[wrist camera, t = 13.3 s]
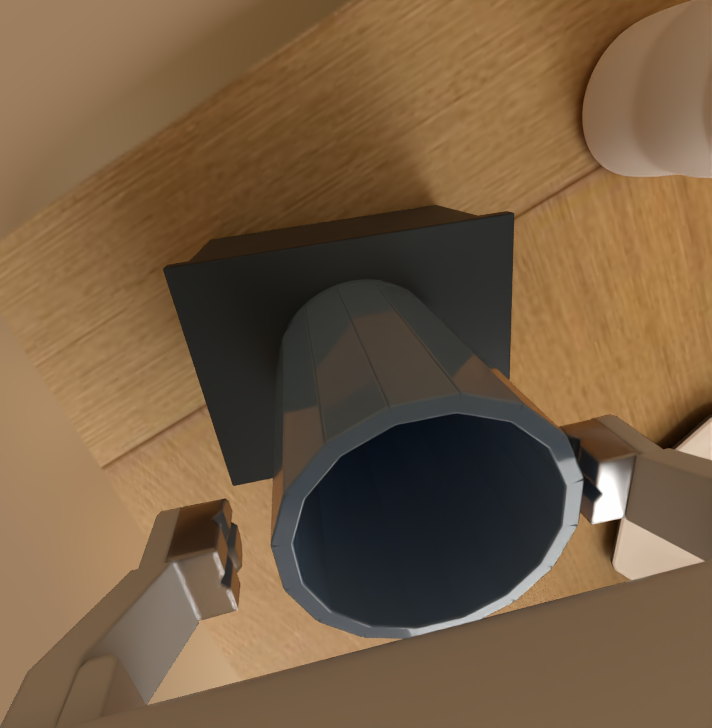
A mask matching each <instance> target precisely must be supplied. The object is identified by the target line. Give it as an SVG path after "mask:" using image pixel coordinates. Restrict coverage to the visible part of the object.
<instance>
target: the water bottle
mask: <svg viewBox="0 0 712 728" xmlns="http://www.w3.org/2000/svg"><path fill="white" fill-rule="evenodd" d="M582 124H583V132H584V137H585V140H586V143H587V146H588V148H589V150H590V152H591V154H592V155H593V157H594V158H595V159H596V160H597V161H598V163H600V164H601V165H602V166H603V167H604V168H606V169H607V170H609V171H611V172H614V173H616V174H619V175H624V176H634V177H655V176H668V175H675V174H680V175H685V176H690V177H700V178H712V0H692V1H688V2H685V3H682V4H679V5H676V6H673V7H670V8H667V9H665V10H662V11H659V12H657V13H654V14H652V15H650V16H648V17H646V18H644V19H642V20H640V21H638V22H636V23H635V24H633V25H632V26H630V27H629V28H628V29H626V30H625V31H624V32H622V33H621V34H620V35H619V36H618V37H617V38H616V39H615V40H614V41H613V42H612V43H611V44H610V46H609V47H608V48H607V49H606V51H605V52H604V53H603V55H602V56H601V58H600V59H599V61H598V63H597V65H596V67H595V68H594V70H593V73H592V75H591V77H590V80H589V82H588V85H587V89H586V92H585V97H584V102H583V110H582Z"/></svg>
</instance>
